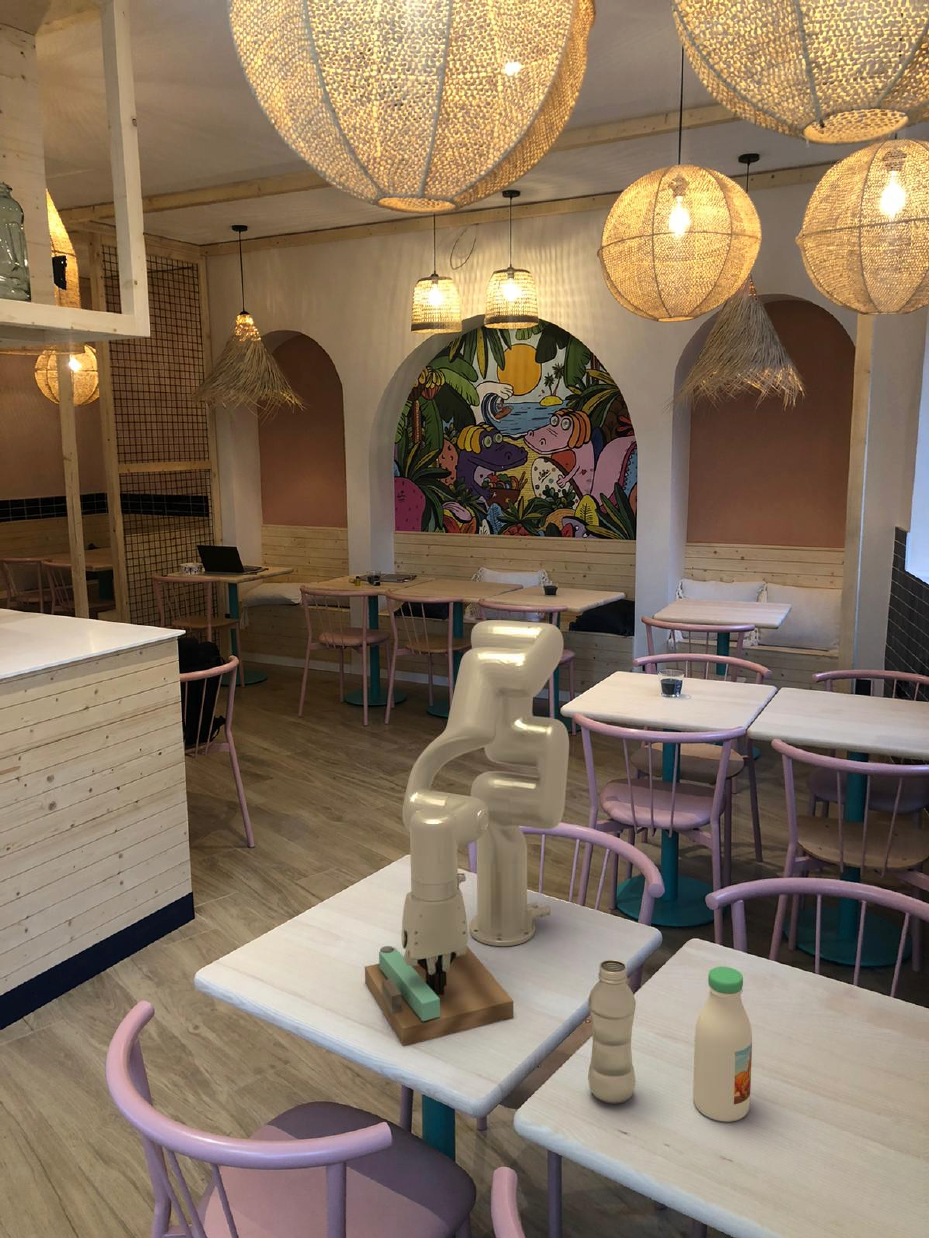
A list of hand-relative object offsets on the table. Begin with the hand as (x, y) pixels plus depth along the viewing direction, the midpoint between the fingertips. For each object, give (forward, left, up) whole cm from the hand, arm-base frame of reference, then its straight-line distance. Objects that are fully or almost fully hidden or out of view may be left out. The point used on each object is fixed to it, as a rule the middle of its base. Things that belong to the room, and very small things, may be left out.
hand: (436, 991), depth 159 cm
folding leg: (+4, -4, -1) cm, 5 cm away
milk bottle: (-29, +37, -4) cm, 47 cm away
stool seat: (-2, -4, -4) cm, 6 cm away
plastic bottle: (-16, +29, -4) cm, 33 cm away
